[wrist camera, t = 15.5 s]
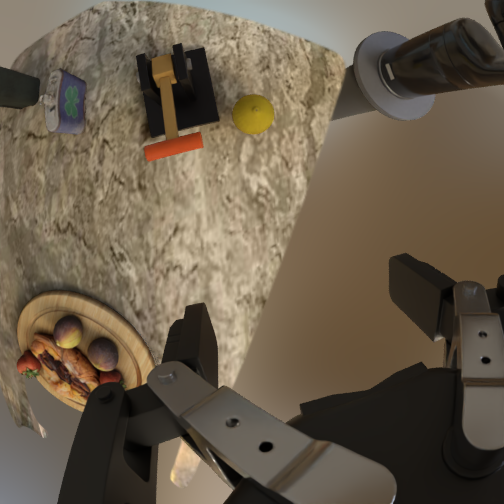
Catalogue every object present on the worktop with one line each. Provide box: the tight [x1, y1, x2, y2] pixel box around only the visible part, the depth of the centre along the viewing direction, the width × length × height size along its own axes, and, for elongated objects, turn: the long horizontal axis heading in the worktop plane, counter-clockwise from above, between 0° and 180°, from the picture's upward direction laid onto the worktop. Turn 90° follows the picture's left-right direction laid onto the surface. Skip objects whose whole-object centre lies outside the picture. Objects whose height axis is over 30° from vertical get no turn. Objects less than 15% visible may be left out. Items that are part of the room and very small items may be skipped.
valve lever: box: [144, 53, 203, 161], centre depth 26 cm, size 12×5×2 cm, turn 11°
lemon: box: [232, 94, 274, 134], centre depth 37 cm, size 6×6×8 cm
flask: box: [39, 68, 87, 135], centre depth 31 cm, size 9×3×11 cm, turn 0°
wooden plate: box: [17, 290, 155, 412], centre depth 46 cm, size 32×32×8 cm
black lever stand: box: [136, 43, 219, 138], centre depth 31 cm, size 12×10×14 cm
